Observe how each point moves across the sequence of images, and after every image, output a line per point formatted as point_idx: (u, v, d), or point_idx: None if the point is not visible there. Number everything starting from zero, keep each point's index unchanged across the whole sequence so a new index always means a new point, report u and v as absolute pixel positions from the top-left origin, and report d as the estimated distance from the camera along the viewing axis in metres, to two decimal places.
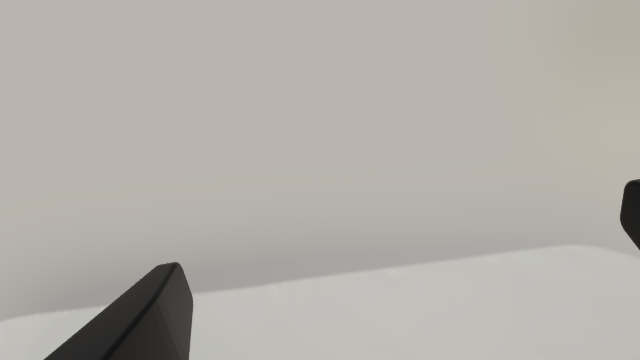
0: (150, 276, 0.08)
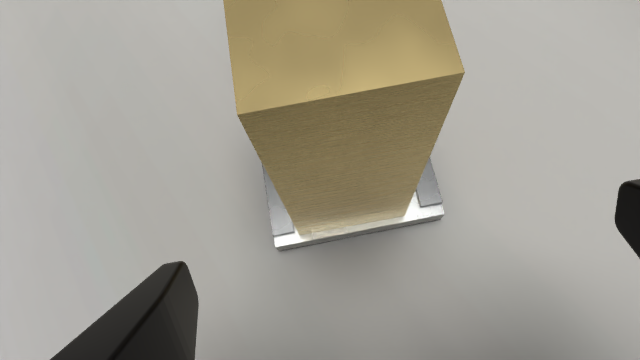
0: (156, 275, 0.08)
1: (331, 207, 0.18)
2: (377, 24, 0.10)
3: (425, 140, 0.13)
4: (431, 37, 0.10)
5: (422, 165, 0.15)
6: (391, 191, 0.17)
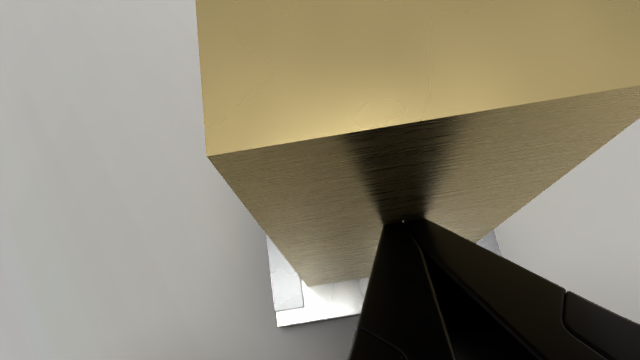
0: (389, 233, 0.08)
1: (356, 263, 0.13)
2: None
3: (532, 188, 0.08)
4: (610, 3, 0.05)
5: (505, 217, 0.10)
6: None
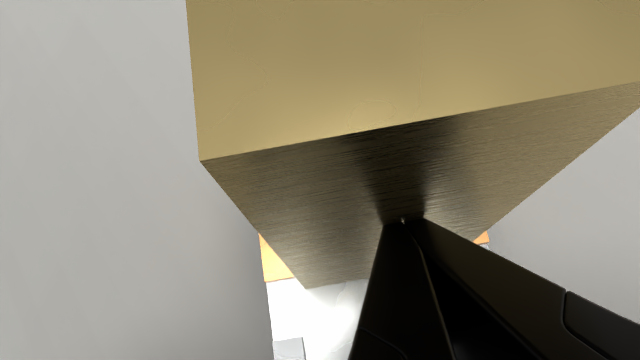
0: (389, 233, 0.08)
1: (353, 264, 0.13)
2: None
3: (525, 186, 0.08)
4: (599, 1, 0.05)
5: (500, 216, 0.10)
6: None
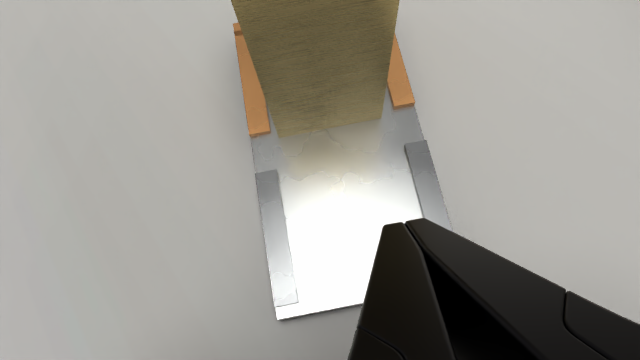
0: (389, 233, 0.08)
1: (307, 93, 0.18)
2: None
3: None
4: None
5: (391, 29, 0.15)
6: (364, 71, 0.17)
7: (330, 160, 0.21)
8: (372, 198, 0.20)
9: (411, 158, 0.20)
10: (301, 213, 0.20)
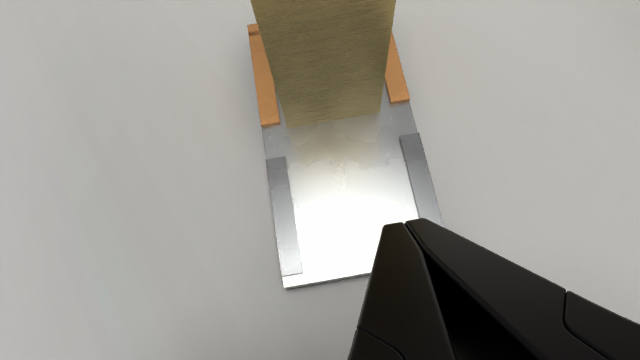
0: (389, 233, 0.08)
1: (313, 88, 0.21)
2: None
3: None
4: None
5: (387, 34, 0.18)
6: (364, 70, 0.20)
7: (333, 149, 0.23)
8: (369, 183, 0.23)
9: (405, 148, 0.23)
10: (306, 195, 0.23)
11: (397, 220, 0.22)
